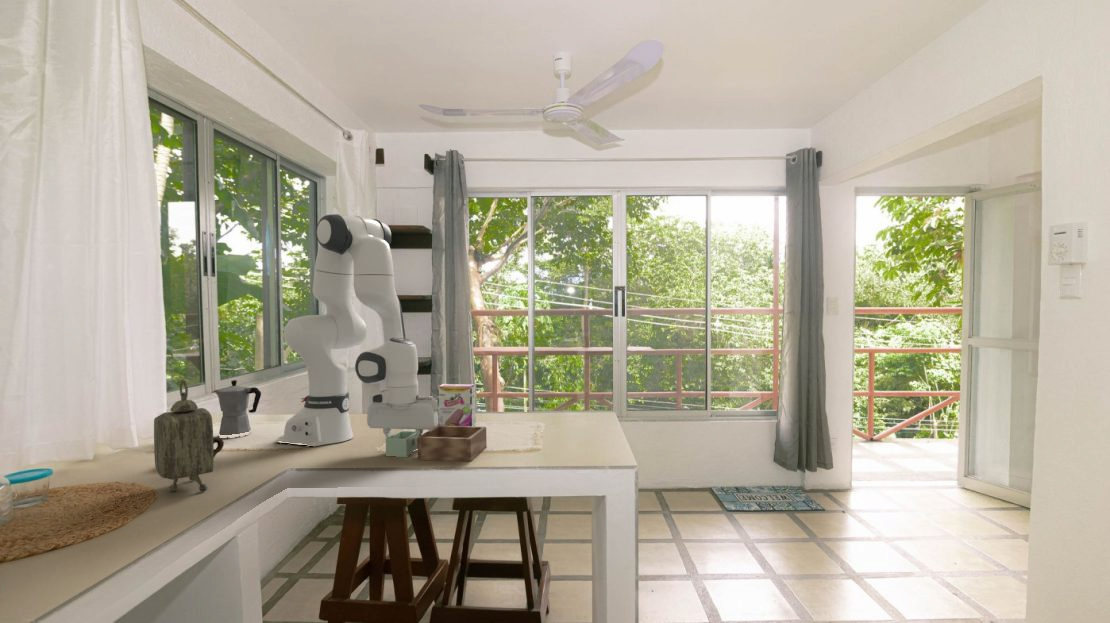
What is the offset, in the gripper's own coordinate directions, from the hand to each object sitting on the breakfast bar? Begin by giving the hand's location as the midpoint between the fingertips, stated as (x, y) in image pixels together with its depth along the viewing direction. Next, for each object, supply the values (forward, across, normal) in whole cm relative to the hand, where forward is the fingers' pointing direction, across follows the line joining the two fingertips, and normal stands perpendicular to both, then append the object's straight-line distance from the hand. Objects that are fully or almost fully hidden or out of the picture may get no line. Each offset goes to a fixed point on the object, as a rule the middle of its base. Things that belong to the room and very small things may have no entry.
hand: (403, 444), depth 150 cm
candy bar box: (+3, -9, -19) cm, 21 cm away
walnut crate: (+2, -14, -1) cm, 15 cm away
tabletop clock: (+2, +37, +35) cm, 51 cm away
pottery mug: (+3, +51, +16) cm, 54 cm away
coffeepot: (+2, +63, -12) cm, 64 cm away
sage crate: (+2, 0, 0) cm, 2 cm away
